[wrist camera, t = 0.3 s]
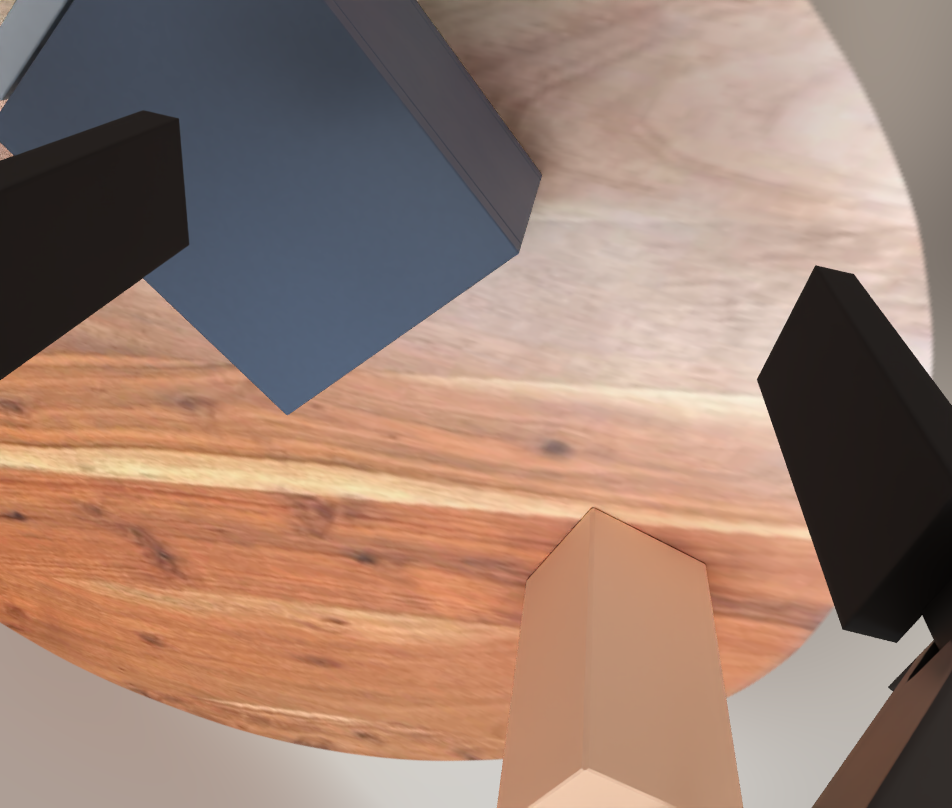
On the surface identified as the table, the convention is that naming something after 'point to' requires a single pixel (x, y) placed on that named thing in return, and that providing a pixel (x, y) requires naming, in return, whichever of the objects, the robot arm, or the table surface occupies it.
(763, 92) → the table surface
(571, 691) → the soap dispenser
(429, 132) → the blue drawer cabinet
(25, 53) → the drawer
